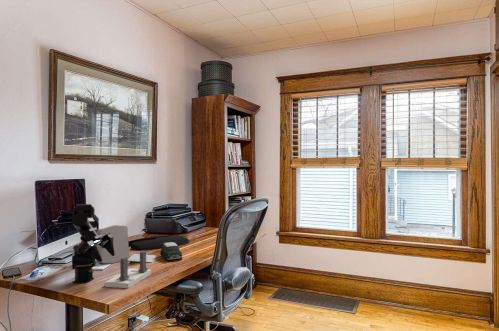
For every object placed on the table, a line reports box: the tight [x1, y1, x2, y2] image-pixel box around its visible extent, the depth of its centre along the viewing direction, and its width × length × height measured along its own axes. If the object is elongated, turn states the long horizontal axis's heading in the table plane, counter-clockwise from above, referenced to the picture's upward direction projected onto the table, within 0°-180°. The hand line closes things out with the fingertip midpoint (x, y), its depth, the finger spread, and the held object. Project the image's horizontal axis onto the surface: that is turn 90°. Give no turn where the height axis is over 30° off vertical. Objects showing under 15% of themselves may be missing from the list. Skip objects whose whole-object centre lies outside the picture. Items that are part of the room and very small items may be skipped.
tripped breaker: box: [119, 257, 129, 280], centre depth 143 cm, size 3×4×9 cm
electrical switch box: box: [95, 224, 130, 264], centre depth 184 cm, size 15×15×20 cm
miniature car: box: [159, 242, 183, 262], centre depth 188 cm, size 9×18×8 cm, turn 27°
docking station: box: [128, 234, 190, 252], centre depth 222 cm, size 25×40×5 cm, turn 124°
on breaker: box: [138, 250, 149, 272], centre depth 155 cm, size 3×4×9 cm
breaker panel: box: [104, 268, 152, 289], centre depth 149 cm, size 11×20×2 cm, turn 170°
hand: (107, 258), depth 143 cm, fingers open, 9 cm apart
